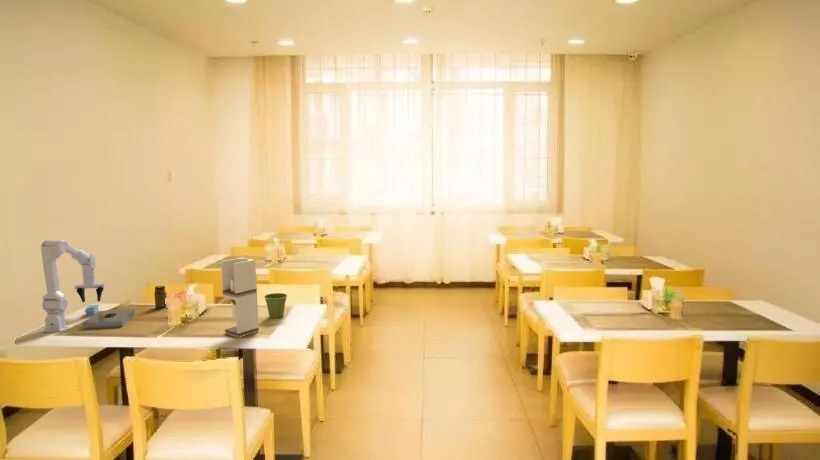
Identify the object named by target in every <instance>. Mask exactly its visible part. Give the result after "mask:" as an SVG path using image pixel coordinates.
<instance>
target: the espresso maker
mask: <svg viewBox="0 0 820 460" xmlns="http://www.w3.org/2000/svg"><path fill="white" fill-rule="evenodd" d="M220 268H221V271H220V272H221V283H222V286H221V287H222V298H225V299H229V300H230V301H231V302H230V303H231V315H232V318H233V319H235V320H236V326H232V327H229V328H226V329H225V330H224V334H225V333H227V334H226V335H228V334H230V335H229V336H231V335H234V336H237V337H240V336H243V335H247V334H250V333H253V334H255V333H254V332H257V331H259V329H260V327H259V310H258V309H259V308H258V307H259V306H258V293H257V292H258V291H257V289H258V287H257V271H256V269H257V268H256V259H251V258H246V257H237V258H233V259H232V258H231V259H226V260H220ZM259 332H260V331H259ZM257 333H258V332H257ZM250 335H251V334H250ZM234 336H233V337H234ZM247 336H248V335H247ZM237 337H236V338H237ZM243 337H244V336H243ZM240 338H241V337H240Z"/></svg>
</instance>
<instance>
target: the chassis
mask: <svg viewBox="0 0 820 460" xmlns="http://www.w3.org/2000/svg"><path fill="white" fill-rule="evenodd" d="M135 311H136V310H135V308H129V309H114V310H98V312H97V313H95V314H94V315H93V316H89V318H88V319H87V320H85V321H84V322H83V323H82V326H83V330H89V329H90V330H91V329H103V328H104V329H105V328H107V329H108V328H109V329H110V328H123V327H124V326H125V325H126V324H127V323H128V322H129V321H130V320H131V319H132V318H133V317H134V316H135V315H136V314H135V313H136V312H135Z"/></svg>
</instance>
